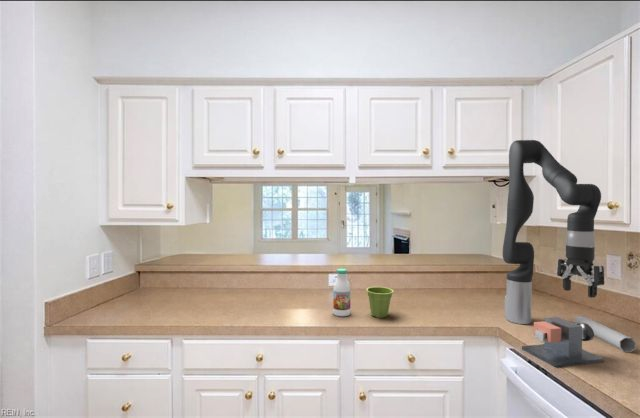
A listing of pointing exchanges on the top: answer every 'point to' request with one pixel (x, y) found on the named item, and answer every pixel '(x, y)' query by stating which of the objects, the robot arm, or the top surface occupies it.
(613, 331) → the tube
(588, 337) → the shaft
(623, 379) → the top surface
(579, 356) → the bearing block
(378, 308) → the plant pot
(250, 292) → the top surface
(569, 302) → the top surface
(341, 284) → the milk bottle
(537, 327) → the block
